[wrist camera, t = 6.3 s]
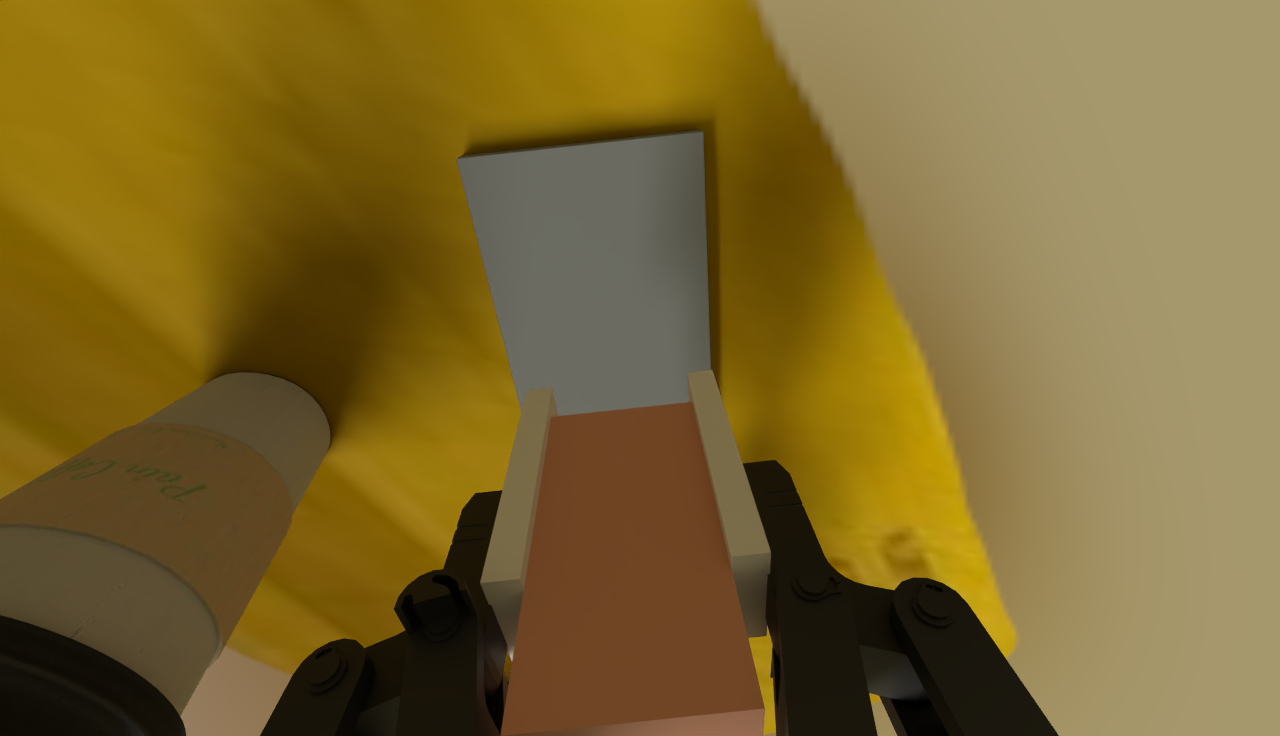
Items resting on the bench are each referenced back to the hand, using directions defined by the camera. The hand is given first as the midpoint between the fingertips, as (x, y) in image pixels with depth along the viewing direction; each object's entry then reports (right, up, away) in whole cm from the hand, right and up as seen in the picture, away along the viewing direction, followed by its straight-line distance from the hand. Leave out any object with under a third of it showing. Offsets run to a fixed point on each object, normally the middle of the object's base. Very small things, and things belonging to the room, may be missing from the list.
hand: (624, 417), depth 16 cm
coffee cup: (-18, -1, +10) cm, 20 cm away
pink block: (0, -3, +1) cm, 4 cm away
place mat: (-1, +4, +7) cm, 8 cm away
